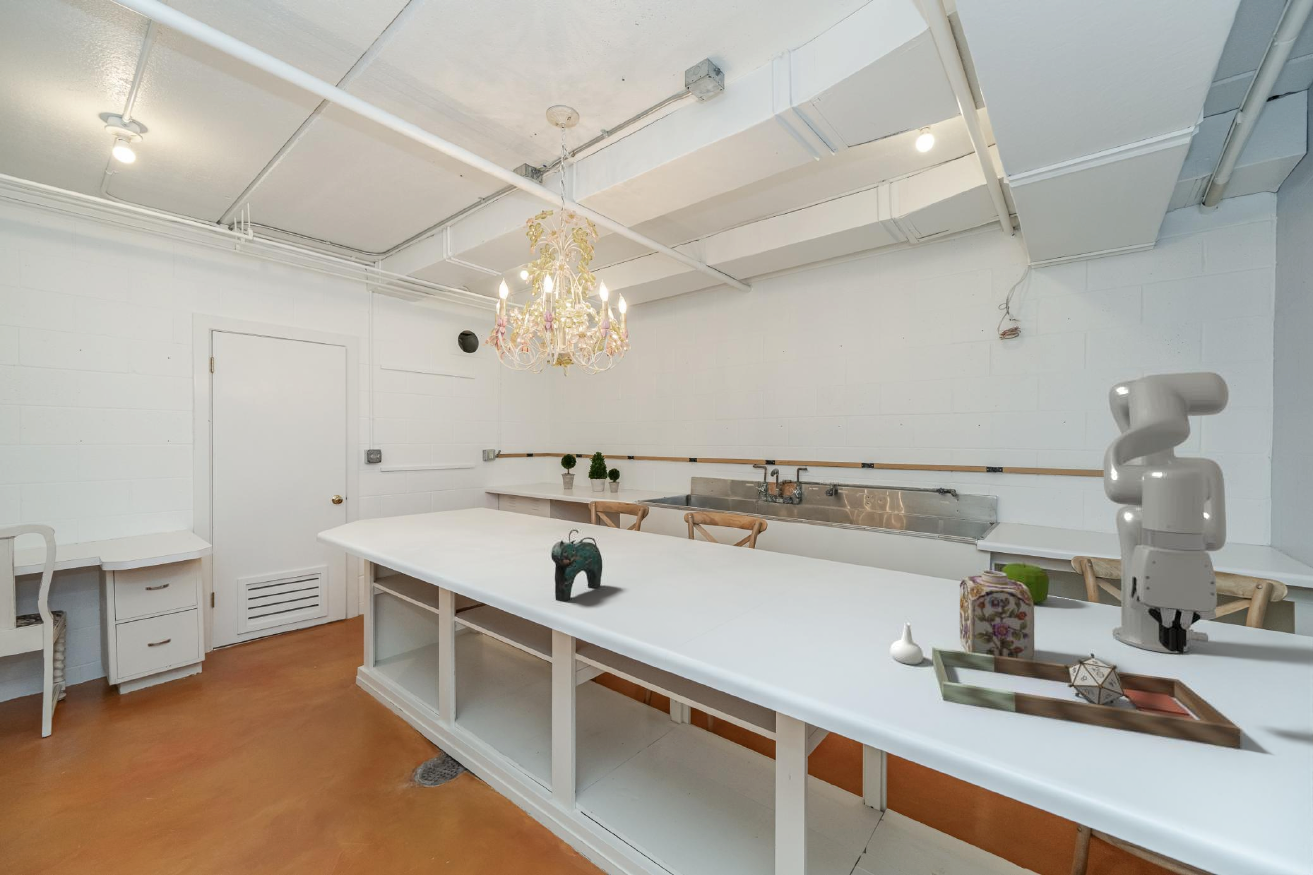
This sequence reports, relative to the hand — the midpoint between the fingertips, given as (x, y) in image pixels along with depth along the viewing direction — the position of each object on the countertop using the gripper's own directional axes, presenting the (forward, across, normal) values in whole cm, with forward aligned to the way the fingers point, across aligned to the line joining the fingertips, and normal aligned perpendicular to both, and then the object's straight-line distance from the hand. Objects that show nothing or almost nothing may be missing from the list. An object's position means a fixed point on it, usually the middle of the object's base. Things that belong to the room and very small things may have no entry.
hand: (1172, 649), depth 88 cm
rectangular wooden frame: (+12, +15, -1) cm, 19 cm away
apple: (+10, +6, -63) cm, 64 cm away
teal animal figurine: (+12, +130, -24) cm, 133 cm away
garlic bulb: (+12, +40, -9) cm, 43 cm away
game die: (+12, +10, -1) cm, 16 cm away
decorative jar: (+12, +22, -18) cm, 31 cm away
